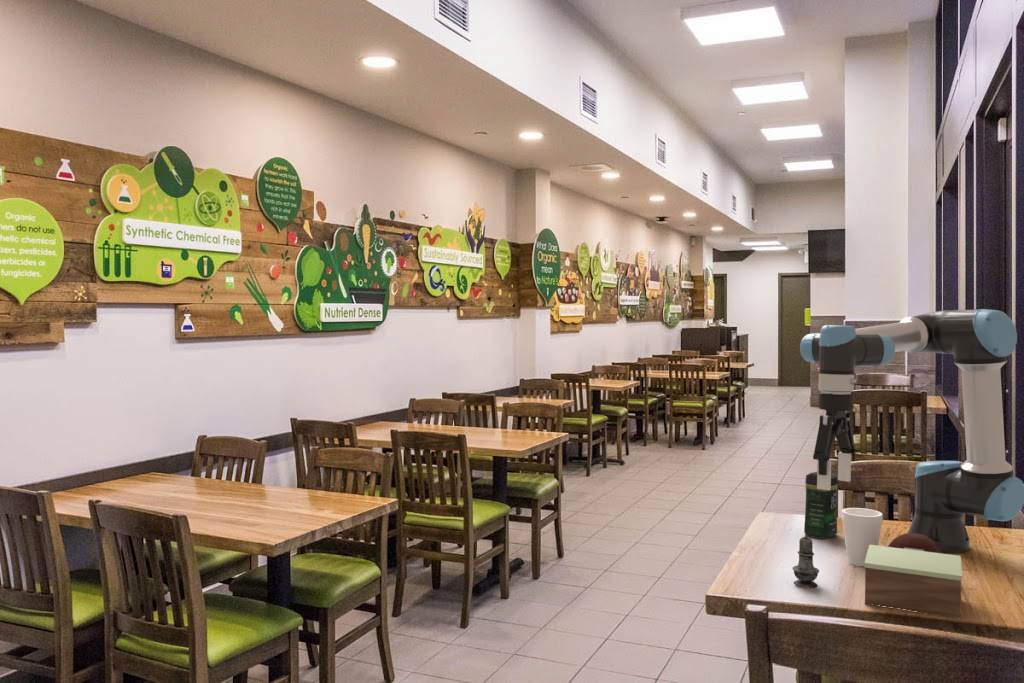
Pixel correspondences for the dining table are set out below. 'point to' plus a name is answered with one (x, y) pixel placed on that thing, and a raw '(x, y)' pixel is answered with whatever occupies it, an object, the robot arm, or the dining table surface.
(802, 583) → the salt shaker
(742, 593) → the dining table surface
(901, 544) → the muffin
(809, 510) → the coffee jar
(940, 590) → the box
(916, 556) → the lid
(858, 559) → the foam cup
